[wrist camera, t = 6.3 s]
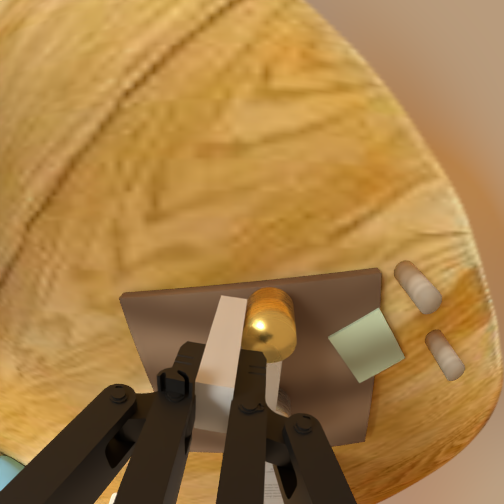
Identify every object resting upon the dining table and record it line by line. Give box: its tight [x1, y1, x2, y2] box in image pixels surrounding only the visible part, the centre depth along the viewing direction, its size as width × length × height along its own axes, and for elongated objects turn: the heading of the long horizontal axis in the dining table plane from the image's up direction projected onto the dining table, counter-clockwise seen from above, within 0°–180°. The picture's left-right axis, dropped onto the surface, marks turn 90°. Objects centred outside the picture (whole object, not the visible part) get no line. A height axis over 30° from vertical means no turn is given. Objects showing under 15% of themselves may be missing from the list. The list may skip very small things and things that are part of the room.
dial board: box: [119, 261, 465, 453], centre depth 20 cm, size 16×21×4 cm
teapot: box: [0, 455, 24, 491], centre depth 31 cm, size 15×15×10 cm
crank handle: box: [241, 287, 297, 417], centre depth 18 cm, size 12×4×4 cm, turn 178°
